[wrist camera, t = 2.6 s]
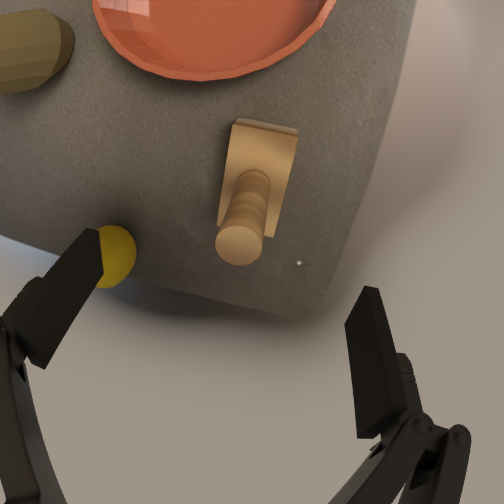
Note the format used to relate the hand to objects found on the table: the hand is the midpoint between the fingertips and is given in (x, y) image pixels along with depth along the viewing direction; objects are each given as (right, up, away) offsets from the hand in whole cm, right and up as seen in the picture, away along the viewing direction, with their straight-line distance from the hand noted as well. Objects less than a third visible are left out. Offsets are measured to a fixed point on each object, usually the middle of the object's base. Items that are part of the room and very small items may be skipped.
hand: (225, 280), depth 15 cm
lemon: (-13, +3, +18) cm, 22 cm away
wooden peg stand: (+2, +8, +12) cm, 15 cm away
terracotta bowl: (-1, +23, +3) cm, 23 cm away
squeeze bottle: (-18, +21, +6) cm, 29 cm away
